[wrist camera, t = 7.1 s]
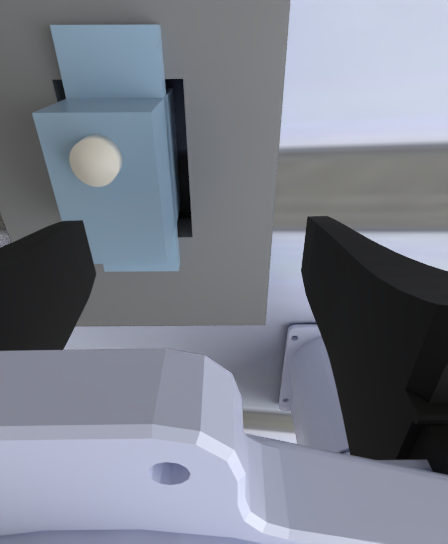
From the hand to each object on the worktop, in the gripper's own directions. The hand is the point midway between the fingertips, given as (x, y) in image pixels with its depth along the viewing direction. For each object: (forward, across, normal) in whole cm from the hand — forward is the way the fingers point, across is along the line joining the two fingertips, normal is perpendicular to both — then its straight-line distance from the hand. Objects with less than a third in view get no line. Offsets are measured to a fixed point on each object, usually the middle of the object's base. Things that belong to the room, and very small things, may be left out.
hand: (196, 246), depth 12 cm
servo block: (+9, +4, -1) cm, 10 cm away
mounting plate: (+9, +4, -1) cm, 10 cm away
